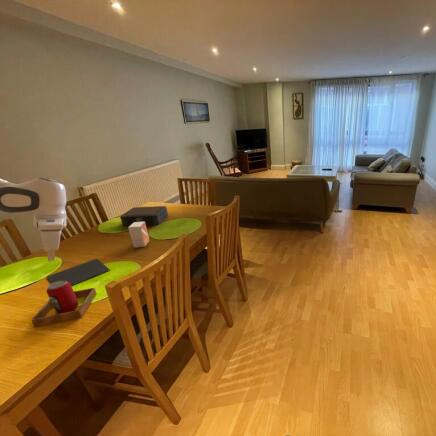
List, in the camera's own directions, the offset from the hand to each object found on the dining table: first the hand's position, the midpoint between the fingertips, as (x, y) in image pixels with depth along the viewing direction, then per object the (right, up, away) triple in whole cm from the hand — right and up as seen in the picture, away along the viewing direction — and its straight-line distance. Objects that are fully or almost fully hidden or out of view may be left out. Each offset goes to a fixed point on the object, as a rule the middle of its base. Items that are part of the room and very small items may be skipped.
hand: (51, 257), depth 92 cm
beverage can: (+4, -21, +3) cm, 22 cm away
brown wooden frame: (+4, -21, +3) cm, 22 cm away
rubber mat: (-11, -12, +24) cm, 29 cm away
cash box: (-15, +13, +86) cm, 88 cm away
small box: (+3, -1, +52) cm, 52 cm away
